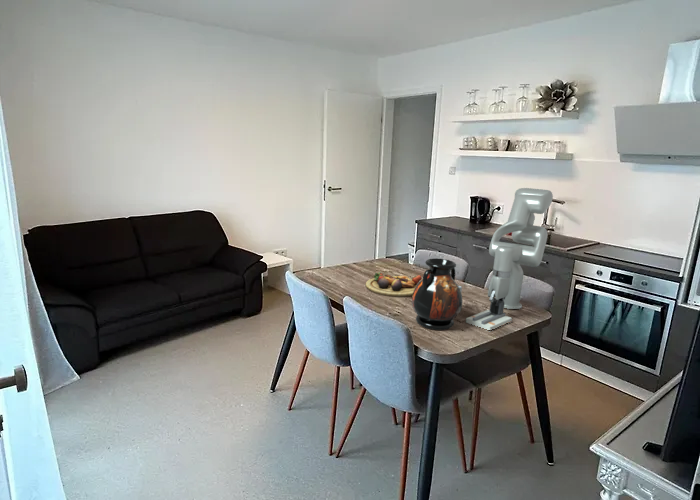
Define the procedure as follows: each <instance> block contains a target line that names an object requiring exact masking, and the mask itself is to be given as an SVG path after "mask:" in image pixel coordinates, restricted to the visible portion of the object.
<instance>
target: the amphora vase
mask: <svg viewBox="0 0 700 500" xmlns="http://www.w3.org/2000/svg"><path fill="white" fill-rule="evenodd" d="M424 263H425V265H426V266H428V267H429V269H426V270H425V271H424V272H423V275H422V279H421V280H420V281H419V282H418V284H417V285H416V287H415V289H414V292H413V295H412V296H411V305H412V309H413V311H414V313H416V317H415V321H416V322H417V324H418V325H419V326H421V327H424V328H425V329H429V330H437V331H442V330H443V331H445V330H448V329H451V328H453V326H454V324H455V321H454V320H455V319H456V318H457V317H458V316H459V314H460V313H461V312H462V308H463V296H462V295H463V294H462V291H460V288H459V286H460V285H459V284H458V283H456V281H455V280H456V269H455V268H456V267H457V264H456V262H454V261H452V260H450V259H446V258H428V259H426V260H425V262H424Z"/></svg>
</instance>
